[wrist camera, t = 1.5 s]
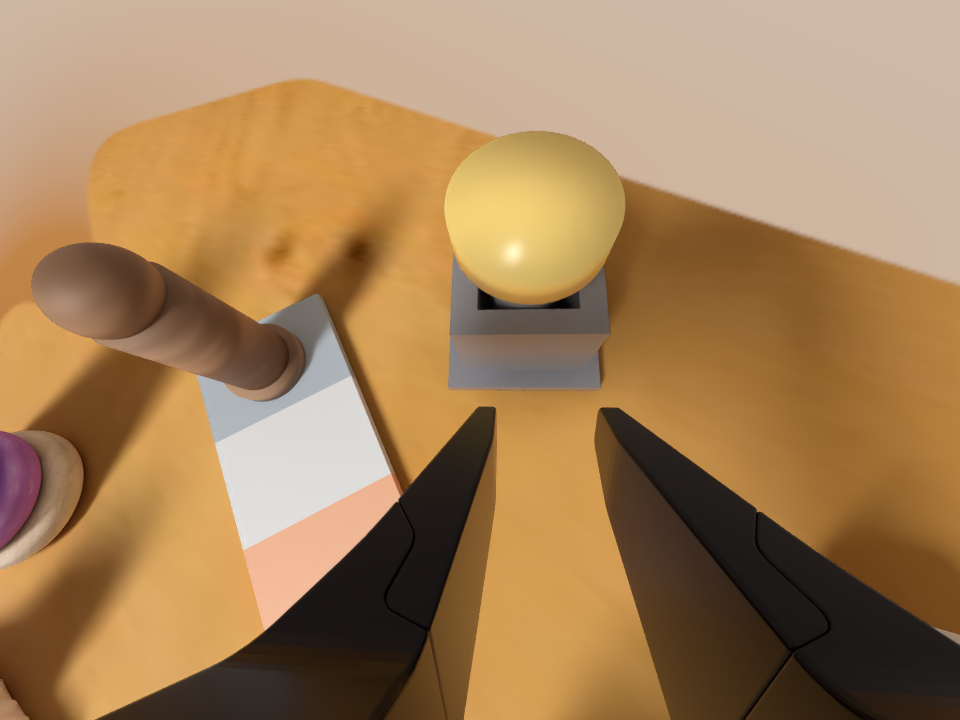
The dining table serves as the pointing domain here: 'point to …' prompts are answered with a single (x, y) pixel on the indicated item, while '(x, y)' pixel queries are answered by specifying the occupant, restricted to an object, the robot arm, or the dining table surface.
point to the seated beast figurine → (9, 706)
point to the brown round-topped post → (164, 319)
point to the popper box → (526, 340)
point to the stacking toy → (35, 491)
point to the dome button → (533, 217)
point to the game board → (301, 465)
